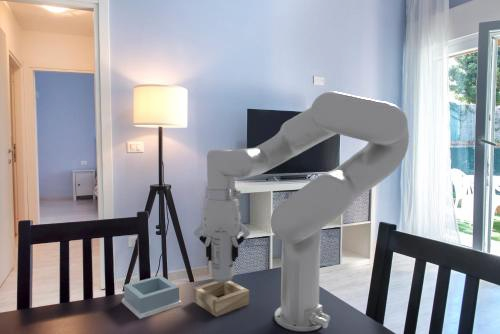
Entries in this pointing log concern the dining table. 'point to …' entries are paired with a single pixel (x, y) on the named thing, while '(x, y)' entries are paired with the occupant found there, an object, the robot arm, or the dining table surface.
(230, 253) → the energy drink can
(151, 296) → the port socket
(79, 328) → the dining table surface
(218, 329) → the dining table surface
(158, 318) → the dining table surface
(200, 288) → the wooden open box
